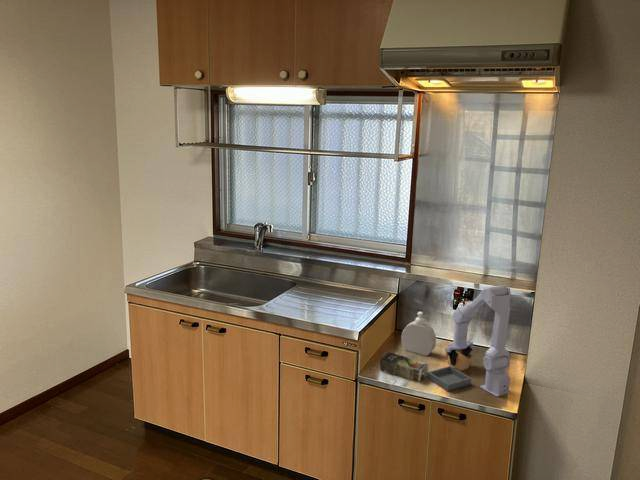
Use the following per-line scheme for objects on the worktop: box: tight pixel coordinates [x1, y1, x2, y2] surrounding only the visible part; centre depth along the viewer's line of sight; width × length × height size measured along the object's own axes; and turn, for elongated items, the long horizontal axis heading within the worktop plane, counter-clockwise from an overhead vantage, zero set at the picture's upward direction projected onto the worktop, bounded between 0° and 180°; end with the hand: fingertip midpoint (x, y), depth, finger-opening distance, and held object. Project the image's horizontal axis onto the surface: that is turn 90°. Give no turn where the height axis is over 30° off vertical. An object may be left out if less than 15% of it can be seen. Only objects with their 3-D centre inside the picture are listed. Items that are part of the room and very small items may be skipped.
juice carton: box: [379, 352, 429, 383], centre depth 245 cm, size 20×10×6 cm, turn 57°
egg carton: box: [444, 348, 461, 358], centre depth 264 cm, size 11×8×4 cm
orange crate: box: [447, 351, 470, 372], centre depth 252 cm, size 8×5×5 cm, turn 30°
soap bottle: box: [400, 311, 437, 357], centre depth 265 cm, size 16×5×20 cm, turn 58°
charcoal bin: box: [426, 365, 472, 393], centre depth 238 cm, size 13×13×3 cm
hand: (458, 363), depth 252 cm, fingers open, 6 cm apart
